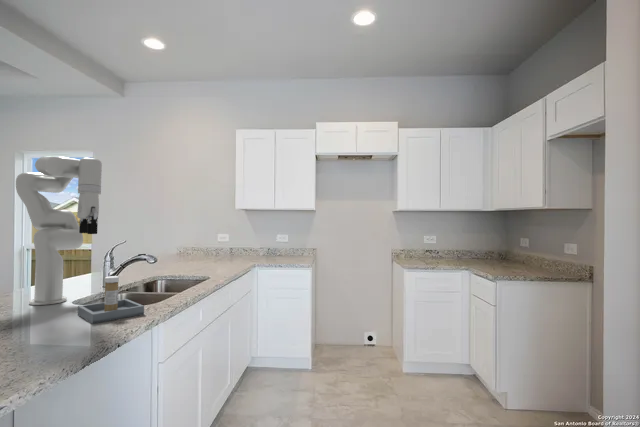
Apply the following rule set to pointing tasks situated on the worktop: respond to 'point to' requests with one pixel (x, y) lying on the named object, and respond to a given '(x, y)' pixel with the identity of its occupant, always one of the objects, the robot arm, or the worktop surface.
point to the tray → (97, 314)
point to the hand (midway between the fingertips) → (88, 233)
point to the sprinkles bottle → (111, 293)
